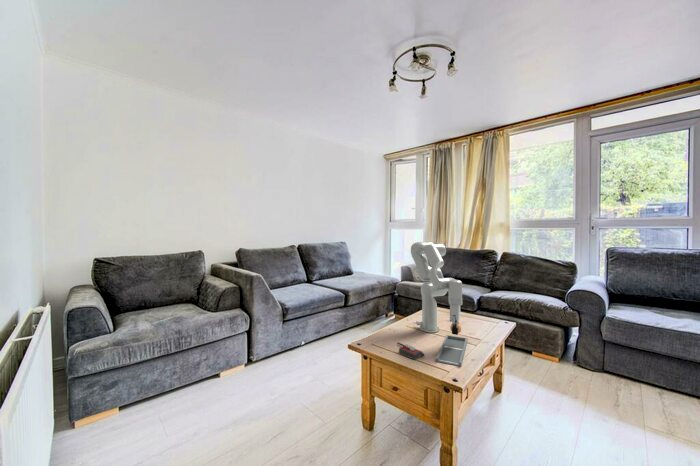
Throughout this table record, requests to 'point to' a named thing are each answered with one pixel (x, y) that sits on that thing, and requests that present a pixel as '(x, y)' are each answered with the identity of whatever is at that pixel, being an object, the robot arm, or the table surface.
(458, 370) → the table surface
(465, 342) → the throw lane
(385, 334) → the table surface
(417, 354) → the walkie-talkie
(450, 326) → the ball
